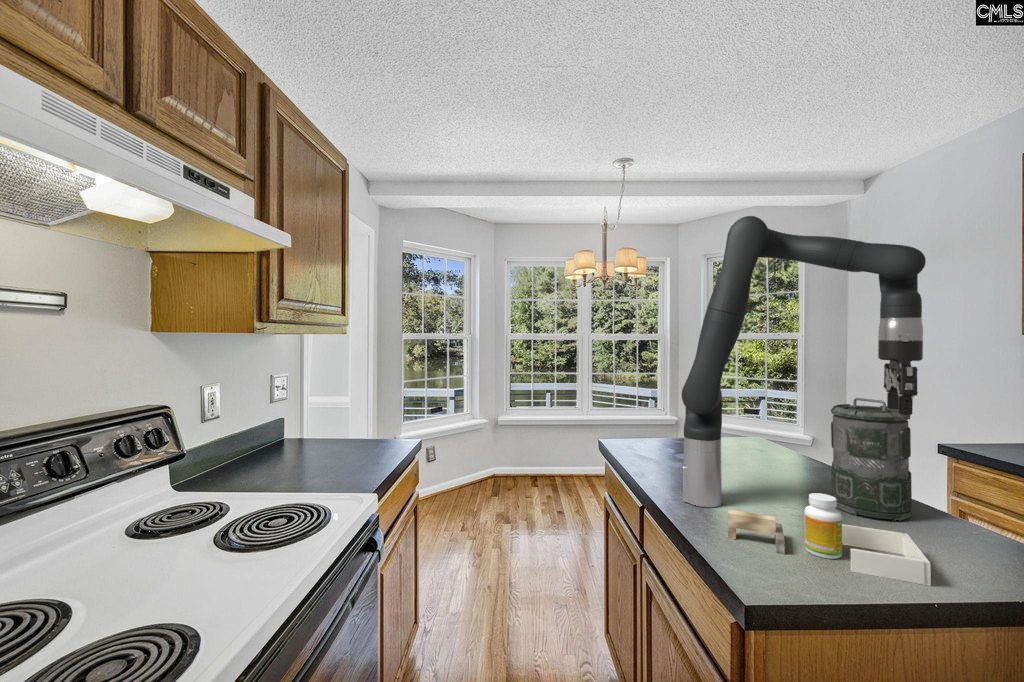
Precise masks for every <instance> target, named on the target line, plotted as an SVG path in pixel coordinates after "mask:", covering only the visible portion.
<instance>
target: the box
mask: <svg viewBox="0 0 1024 682" xmlns="http://www.w3.org/2000/svg"><path fill="white" fill-rule="evenodd" d="M843 545H845V546H850V547H854V548H850V571H851V572H852V573H857V574H863V575H870V576H875V577H880V578H885V579H891V580H894V581H895V580H897V581H901V582H907V583H913V584H918V585H923V586H929V587H931V585H932V584H931V582H932V579H931V575H932V574H931V562H930V560H928V558H927V557H926V555H924V553H923V552H922V550H921V549H920V548H919V547H918V546H917V544H916V542H914V541H913V539H912V538H911V537H910V535H909V534H908V533H905V532H898V531H892V530H886V529H878V528H872V527H866V526H865V527H864V526H859V525H858V526H856V525H852V524H849V525H848V524H843V523H842V546H843ZM855 547H857V548H855ZM858 548H862V549H858ZM864 549H869V550H874V551H875V552H874V551H869V550H864ZM876 551H880V552H876ZM882 552H887V553H882ZM888 553H893V554H888ZM894 554H898V555H894ZM900 555H903V556H900Z"/></svg>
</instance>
